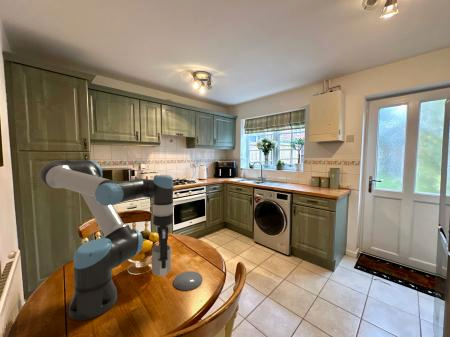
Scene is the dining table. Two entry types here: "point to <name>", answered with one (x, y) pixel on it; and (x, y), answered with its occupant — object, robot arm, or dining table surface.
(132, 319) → the dining table surface
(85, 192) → the robot arm
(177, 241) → the dining table surface
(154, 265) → the cup
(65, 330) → the dining table surface
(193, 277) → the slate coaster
